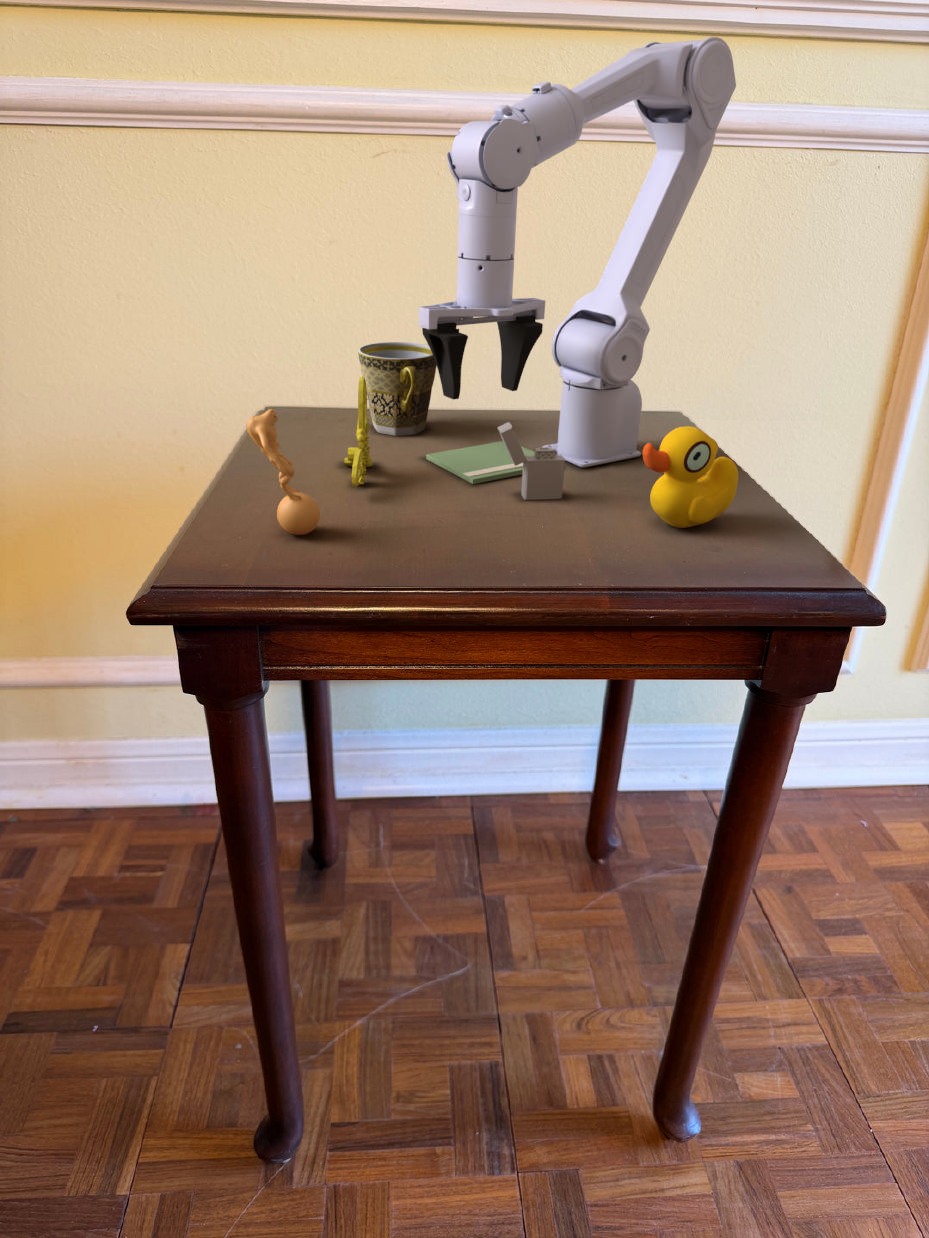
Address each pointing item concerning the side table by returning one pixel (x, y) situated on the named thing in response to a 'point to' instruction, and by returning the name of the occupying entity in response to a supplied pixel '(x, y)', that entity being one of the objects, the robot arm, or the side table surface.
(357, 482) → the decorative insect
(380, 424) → the ceramic cup
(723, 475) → the duckling
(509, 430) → the lighter
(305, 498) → the figurine
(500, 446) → the towel
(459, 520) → the side table surface
